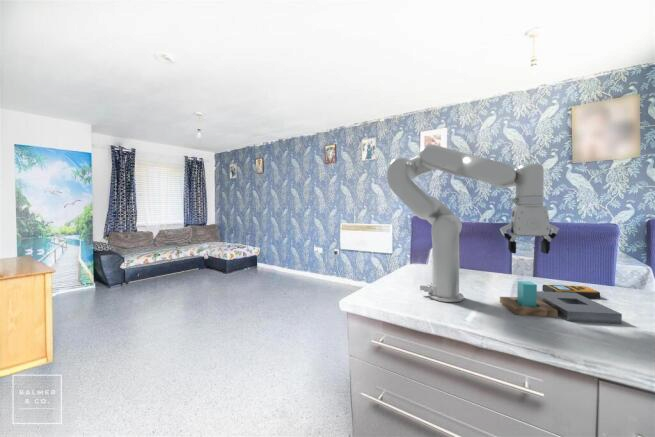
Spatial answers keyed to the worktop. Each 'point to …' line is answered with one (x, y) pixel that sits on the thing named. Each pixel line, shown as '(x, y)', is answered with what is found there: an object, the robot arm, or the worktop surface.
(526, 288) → the plug
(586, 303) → the panel
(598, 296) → the electronic device
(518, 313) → the wooden square tray
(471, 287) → the worktop surface
